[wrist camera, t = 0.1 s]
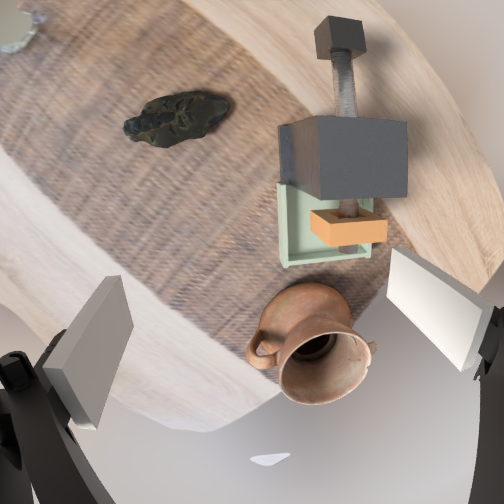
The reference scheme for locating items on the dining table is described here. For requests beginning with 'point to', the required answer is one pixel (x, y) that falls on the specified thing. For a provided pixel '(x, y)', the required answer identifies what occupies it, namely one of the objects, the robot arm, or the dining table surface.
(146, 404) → the dining table surface
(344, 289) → the dining table surface
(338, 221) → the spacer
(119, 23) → the dining table surface
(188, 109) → the stone
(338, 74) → the shaft
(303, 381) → the ceramic jug
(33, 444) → the robot arm
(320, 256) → the tray
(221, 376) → the dining table surface
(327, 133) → the bearing block
